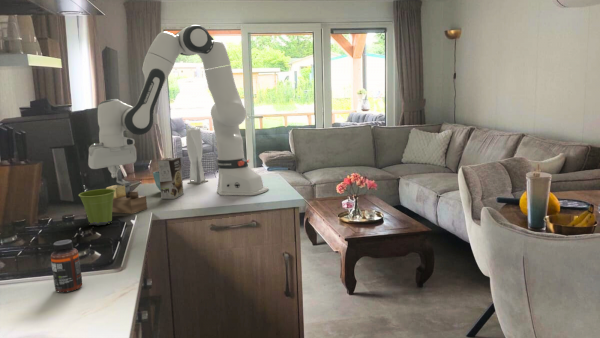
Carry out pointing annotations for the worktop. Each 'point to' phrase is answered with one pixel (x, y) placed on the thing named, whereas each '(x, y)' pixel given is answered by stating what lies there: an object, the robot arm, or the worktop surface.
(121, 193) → the pale yellow block
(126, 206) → the plane body
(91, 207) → the plant pot
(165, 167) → the coffee box
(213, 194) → the worktop surface
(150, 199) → the worktop surface
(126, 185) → the cam lever
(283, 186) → the worktop surface
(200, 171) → the skyscraper
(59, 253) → the supplement bottle
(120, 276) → the worktop surface
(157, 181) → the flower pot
